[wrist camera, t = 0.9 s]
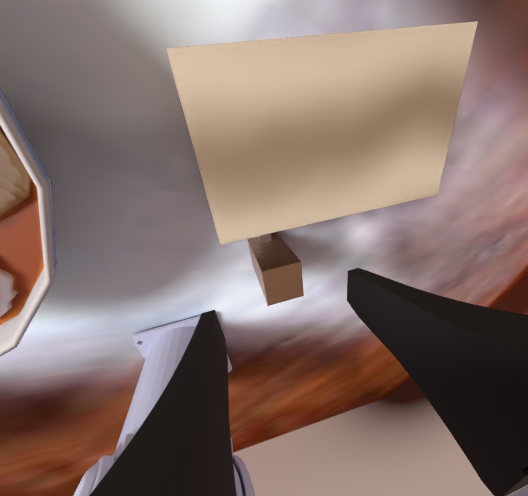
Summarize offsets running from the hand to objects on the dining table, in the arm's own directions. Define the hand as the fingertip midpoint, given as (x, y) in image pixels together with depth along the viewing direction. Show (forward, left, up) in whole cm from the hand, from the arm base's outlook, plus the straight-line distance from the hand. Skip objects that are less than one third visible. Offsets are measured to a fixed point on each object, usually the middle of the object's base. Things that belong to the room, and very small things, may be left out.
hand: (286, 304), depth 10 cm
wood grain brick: (+3, -1, -9) cm, 10 cm away
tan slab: (+7, -4, -9) cm, 13 cm away
